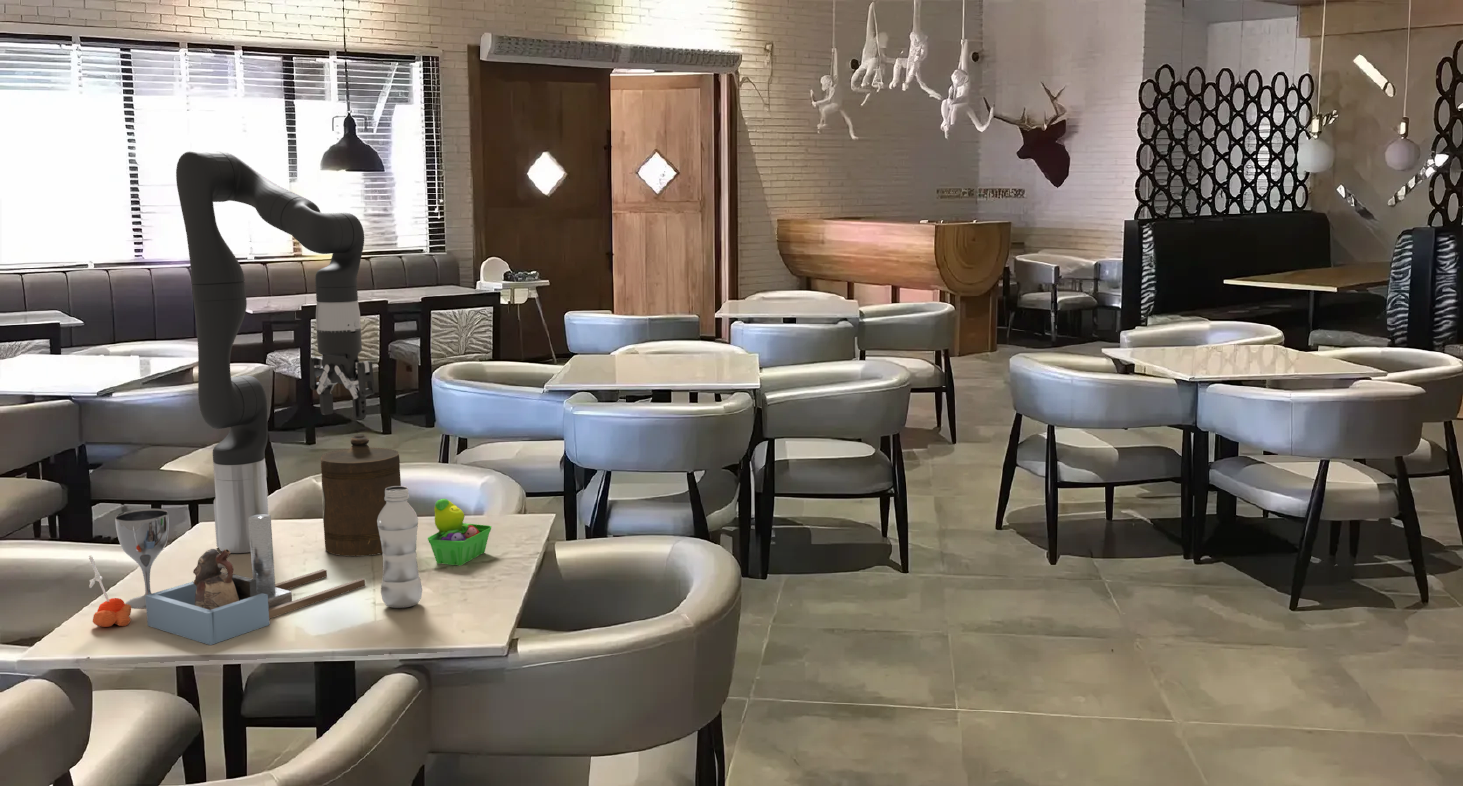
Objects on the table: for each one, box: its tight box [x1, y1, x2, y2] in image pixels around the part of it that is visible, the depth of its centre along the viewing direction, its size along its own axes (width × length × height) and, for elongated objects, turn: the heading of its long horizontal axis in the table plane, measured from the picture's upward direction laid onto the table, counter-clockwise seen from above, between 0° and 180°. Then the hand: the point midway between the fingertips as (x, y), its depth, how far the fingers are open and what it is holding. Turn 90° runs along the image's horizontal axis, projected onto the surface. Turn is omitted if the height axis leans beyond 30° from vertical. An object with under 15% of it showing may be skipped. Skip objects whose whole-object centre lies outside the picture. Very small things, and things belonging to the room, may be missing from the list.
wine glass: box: [114, 508, 170, 609], centre depth 207 cm, size 8×8×15 cm
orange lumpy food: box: [88, 555, 132, 628], centre depth 195 cm, size 6×10×12 cm, turn 170°
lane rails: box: [269, 569, 366, 619], centre depth 209 cm, size 11×22×1 cm, turn 148°
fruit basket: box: [427, 498, 492, 567], centre depth 232 cm, size 11×9×11 cm
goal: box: [144, 580, 270, 646], centre depth 196 cm, size 16×11×5 cm, turn 57°
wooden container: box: [320, 433, 402, 557], centre depth 239 cm, size 15×15×22 cm
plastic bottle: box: [377, 485, 423, 609], centre depth 204 cm, size 6×7×20 cm
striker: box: [226, 514, 293, 609], centre depth 203 cm, size 7×8×15 cm
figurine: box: [192, 548, 239, 610], centre depth 197 cm, size 7×7×12 cm
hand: (343, 416), depth 222 cm, fingers open, 8 cm apart
